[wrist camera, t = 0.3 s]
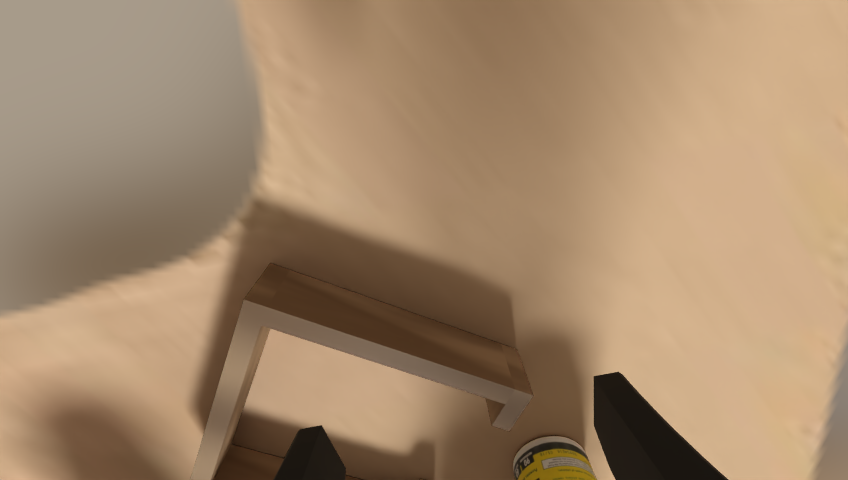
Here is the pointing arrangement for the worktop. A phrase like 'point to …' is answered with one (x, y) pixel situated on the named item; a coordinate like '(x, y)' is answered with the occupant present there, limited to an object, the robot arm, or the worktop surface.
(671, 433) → the robot arm
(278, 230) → the worktop surface
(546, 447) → the supplement bottle
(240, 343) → the walled box
